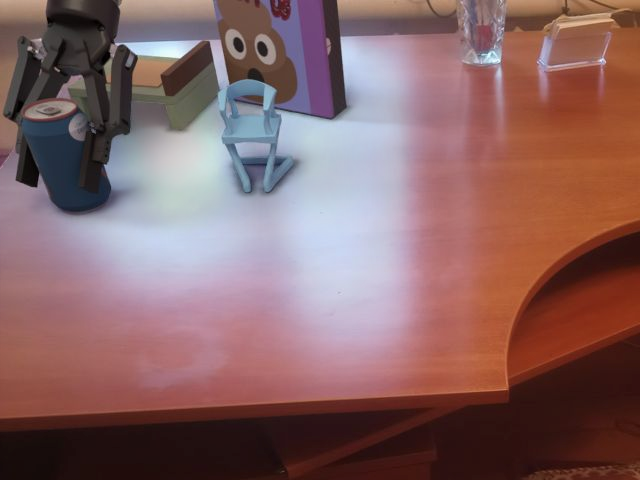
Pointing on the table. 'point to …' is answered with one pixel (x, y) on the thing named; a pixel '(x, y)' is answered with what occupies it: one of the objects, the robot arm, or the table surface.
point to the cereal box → (285, 52)
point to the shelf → (166, 84)
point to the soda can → (62, 153)
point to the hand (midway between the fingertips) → (57, 186)
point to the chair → (253, 131)
